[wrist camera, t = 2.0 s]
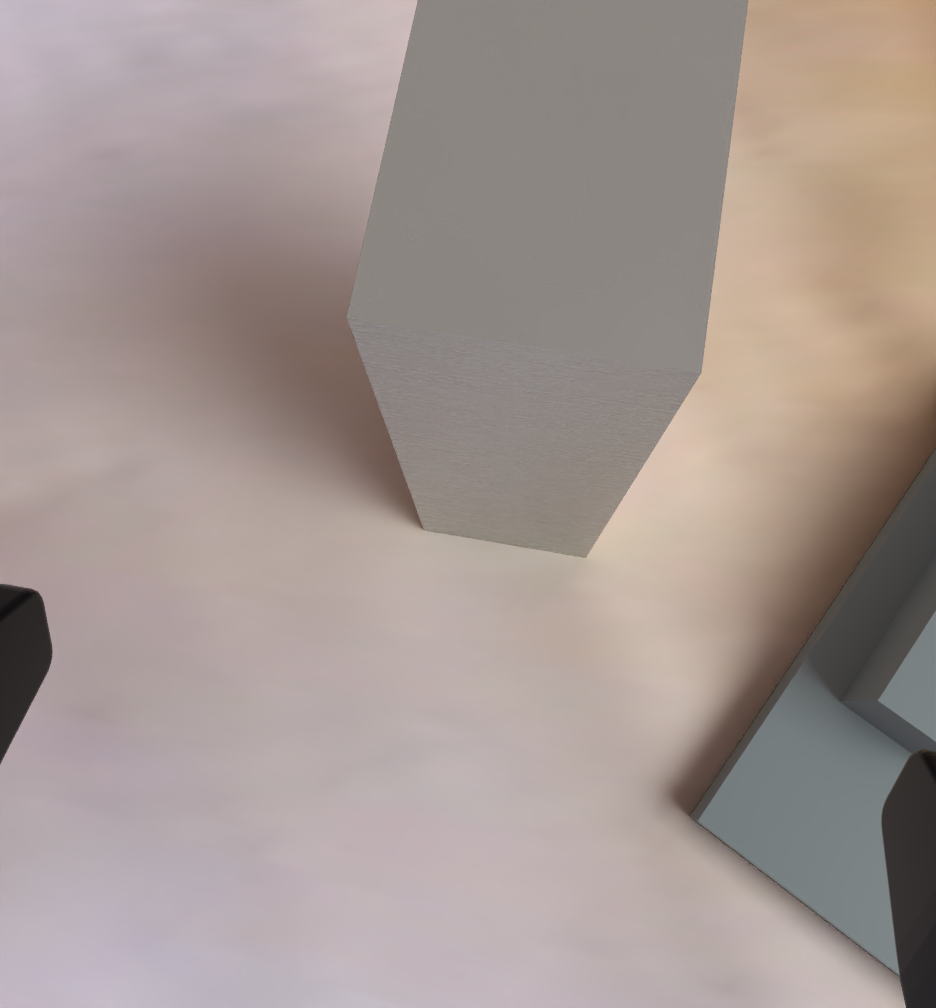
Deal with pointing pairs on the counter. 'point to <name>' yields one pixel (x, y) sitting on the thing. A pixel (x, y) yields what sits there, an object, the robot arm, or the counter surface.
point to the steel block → (544, 253)
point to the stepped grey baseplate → (842, 735)
